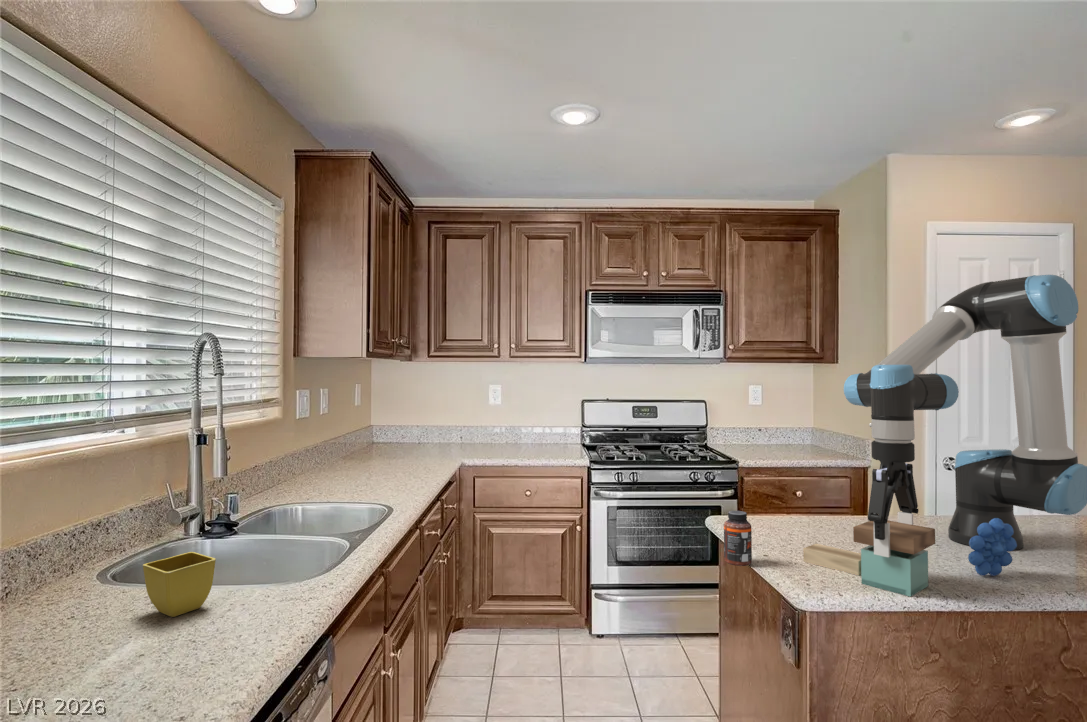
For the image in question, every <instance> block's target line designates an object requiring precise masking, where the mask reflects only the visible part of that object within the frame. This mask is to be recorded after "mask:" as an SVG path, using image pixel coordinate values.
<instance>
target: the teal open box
mask: <svg viewBox="0 0 1087 722" xmlns="http://www.w3.org/2000/svg"><path fill="white" fill-rule="evenodd" d="M860 553H861V575H860V576H861V578H860V579H861V581H860V582H861V585H863V586H864V585H865V586H868V587H872V588H877V589H880V590H884V591H887V592H892V593H895V594H899V595H903V596H906V597H909V598H910V597H913V596H914V595H916V594H918V593H920V592H921V591H922V590H924V589H926V588H927V587H929V552H928V550H926V549H924V550H922V551H920V552H918V553H916V554H909V553H904V552H899V551H895V550H890V557H884V556H880V555H875V554H874V546H871V545H866V546H865V547H862V548H861V549H860Z"/></svg>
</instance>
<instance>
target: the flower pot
mask: <svg viewBox="0 0 1087 722" xmlns="http://www.w3.org/2000/svg"><path fill="white" fill-rule="evenodd" d="M215 566H216V558H215V557H212V556H208V555H205V554H201V553H198V552H195V551H189V552H185V553H181V554H177V555H174V556H170V557H167V558H162V559H158V560H155V561H154V560H153V561H150V562H147V563H144V564H142V570H143V574H144V575H143V577H144V581H145V582H144V583H145V588H146V592H147V595H148V597H149V600H150V602H151V603H152V605H153V606H154V607H155V609H156V610H157V611H158V612H160V613H161V614H164V615H166V616H168V617H170V618H173V617H174V618H175V617H177V616H181V615H184V614H186V613H189V612H192V611H195V610H198V609H200V608H202V606H203V605H204V603H205V602H206V600H207V599H208V597H209V595H210V592H211V589H212V587H213V584H214V583H213V581H214V575H215V568H216V567H215Z"/></svg>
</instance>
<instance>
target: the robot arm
mask: <svg viewBox="0 0 1087 722" xmlns="http://www.w3.org/2000/svg"><path fill="white" fill-rule="evenodd" d="M1078 313H1079V300H1078V297H1077V294H1076V292H1075V290H1074V288H1073V286H1072V285H1071V284H1070V283H1069V282H1068V281H1067V280H1066V279H1065V278H1064V277H1062V276H1060V275H1058V274H1057V275H1056V274H1038V275H1029V276H1023V277H1017V278H1009V279H1004V280H995V281H987V282H982V283H979V284H976V285H974V286H972V287H969V288H967V289H965V290H963V291H961V292H959V293H958V294H957V295H955V296H953V297H951V298H950V299H949V300H947V301H946V302H944V303H943V304H941V306H939V307H938V308H936V309H935V311H934V312H933V313H932V314H933V315H932V318H931V319H930V320H929V321H928V322H926V324H924V325H923V326H922V327H921V328H919V329H918V330H917V331H916V332H915V333H913V334H912V335H911V336H910V337H909V338H908V339H906V340H905V341H904V342H902V344H900V345H899V346H898V347H897V348H895V349H894V350H893V351H892V352H891V353H890V354H888V355H887V356H886V357H884V358H883V359H882V360H881V361H880V362H878V363H877V364H875V365H873V366H872V368H871V369H870V370H869V371H867V372H866V373H865V372H864V373H863V372H859V373H854V374H851V375H849V376H848V377H847V378H846V380H845V381H844V384H843V394H844V397H845V398H846V401H847V402H848V403H850V404H851V405H854V406H863V407H866V408H868V407H870V409H871V410H870V411H871V415H870V418H871V422H870V423H869V425H868V427H870V428H871V438H872V439H874V440H872V442H870V443H871V458H872V459H874V460H876V461H879V462H880V463H879V469H878V468H877V469H876V468H873V469H872V470H871V472H872V473H871V477H872V480H871V481H872V482H871V488H870V495H869V496H870V497H869V503H868V511H867V521H873V525H874V554H875V555H880V556H884V557H890V523H887V521H889V516H890V512H891V507H892V503H893V499H894V496H895V499H896V503H897V506H898V508H899V511H897V522H900V523H905V524H911V525H914V514H918V513H919V508H918V507H919V505H918V499H917V498H918V497H917V493H916V486H915V481H914V465H913V464H912V463H911V462H914V461H915V456H916V455H915V454H916V453H915V450H916V449H915V448H916V447H915V444H914V442H912V441H914V440H916V439H915V438H916V437H915V418H914V417H915V411H930V410H931V411H939V410H945V409H948V408H950V407H952V406H954V405H955V403H956V401H957V400H958V399H959V391H960V390H959V386H958V384H957V383H956V381H955V380H954V378H952V377H951V376H948V375H946V374H942V373H938V372H935V373H932V372H931V373H923V371H925V369H927V368H928V367H929V366H930V365H932V363H934V362H935V361H936V360H937V359H939V358H940V357H941V356H942V355H943V354H944V353H946V352H947V351H948V350H950V348H952V346H954V345H955V344H956V343H957V342H958V341H963V340H967V339H968V338H970V337H972V335H974V334H975V333H976V334H977V333H979V332H985V331H992V330H995V331H996V330H1000V338H1001V339H1002V340H1004V341H1005V342H1007V343H1008V345H1009V348H1010V349H1009V350H1010V360H1011V369H1012V381H1013V382H1012V383H1013V391H1014V392H1013V394H1014V403H1015V414H1016V425H1017V437H1018V445H1017V446H1016V447H1015V449H1013V450H1011V449H1007V448H1006V449H1003V448H1002V449H1001V448H1000V449H972V450H971V449H970V450H969V449H968V450H963V451H962V450H961V451H959V452H957V454H956V455H955V461H954V471H955V472H954V473H955V510H954V513H953V515H952V518H951V520H950V523H949V526H948V528H947V529H948V530H947V531H948V533H947V535H948V537H947V538H949V539H950V540H952V541H953V542H956V543H959V544H963V545H966V546H969V540H970V539H971V538H972V537H973V536H979V534H978V533H977V527H978V526H979V525H980V524H982V523H989V522H990V521H991V520H992V519H994V518H999V519H1001V520H1002V521H1003V523H1004V524H1009V525H1011V526H1012V528H1013V530H1014V533H1013V535H1012V536H1011V537H1012V538H1014V539H1015V541H1016V543H1017V547H1016V548H1015V549H1014V550H1013V551H1015V550H1021V549H1023V548H1024V537H1023V534H1022V531H1021V529H1020V527H1019V525H1018V522H1017V519H1016V517H1015V513H1014V506H1015V507H1020V508H1025V509H1031V510H1035V511H1041V512H1046V513H1048V514H1057V515H1058V514H1060V515H1065V516H1072V515H1075V514H1078V513H1080V512H1081V511H1082V510H1083V509H1084V508H1085V507H1086V506H1087V465H1084V464H1083V463H1079V461H1078V460H1079V458H1078V457H1079V456H1078V453H1077V452H1075V450H1073V449H1072V448H1071V447H1069V446H1068V436H1067V424H1066V416H1065V414H1066V413H1065V404H1064V403H1065V402H1064V401H1065V400H1064V392H1063V379H1062V367H1061V356H1060V346H1059V341H1060V340H1061V339H1062V338H1063V337H1064V336H1065V335H1066V334H1067V332H1068V331H1067V326H1070V325H1072V324H1074V322H1075V321H1076V320H1077V317H1078V315H1077V314H1078Z"/></svg>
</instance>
